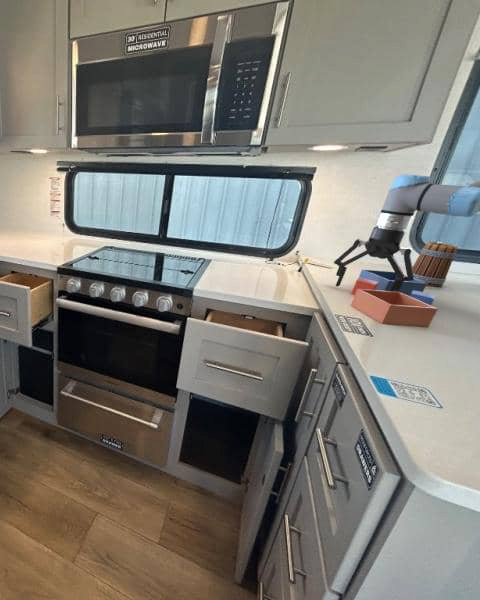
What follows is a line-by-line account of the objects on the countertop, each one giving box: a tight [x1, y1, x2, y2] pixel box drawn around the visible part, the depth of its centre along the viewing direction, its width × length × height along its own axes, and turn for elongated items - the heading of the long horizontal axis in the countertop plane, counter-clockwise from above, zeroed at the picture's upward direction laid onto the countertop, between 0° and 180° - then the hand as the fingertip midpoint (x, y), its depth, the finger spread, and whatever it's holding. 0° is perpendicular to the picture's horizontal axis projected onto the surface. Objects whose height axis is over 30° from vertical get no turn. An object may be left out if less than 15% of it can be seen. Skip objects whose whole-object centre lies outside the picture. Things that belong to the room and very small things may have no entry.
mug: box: [412, 241, 458, 288], centre depth 127 cm, size 16×11×15 cm
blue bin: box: [357, 269, 427, 296], centre depth 114 cm, size 12×12×6 cm
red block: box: [350, 277, 378, 296], centre depth 109 cm, size 5×5×5 cm
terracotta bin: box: [350, 289, 439, 328], centre depth 93 cm, size 12×12×6 cm
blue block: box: [410, 290, 436, 306], centre depth 99 cm, size 5×5×5 cm
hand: (361, 291), depth 110 cm, fingers open, 13 cm apart
